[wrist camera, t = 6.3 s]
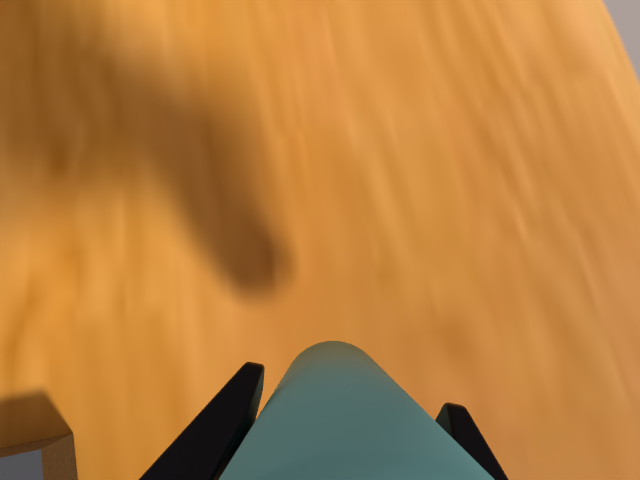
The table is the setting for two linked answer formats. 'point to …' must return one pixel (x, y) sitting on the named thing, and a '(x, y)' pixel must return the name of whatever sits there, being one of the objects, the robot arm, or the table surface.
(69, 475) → the flange plate
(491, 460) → the robot arm
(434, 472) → the peg
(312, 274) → the table surface
